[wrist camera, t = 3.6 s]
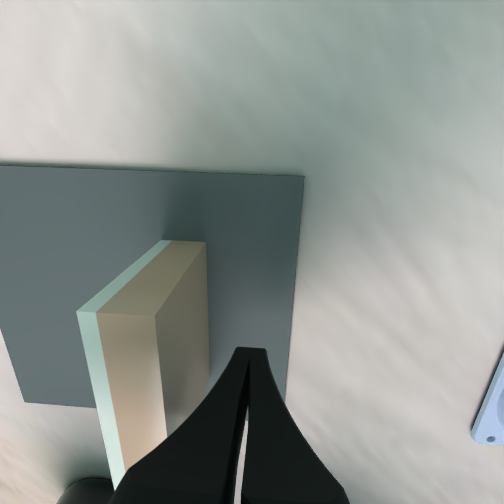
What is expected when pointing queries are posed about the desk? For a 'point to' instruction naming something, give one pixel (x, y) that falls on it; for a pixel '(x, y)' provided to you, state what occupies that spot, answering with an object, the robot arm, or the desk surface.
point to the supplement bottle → (88, 492)
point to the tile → (148, 349)
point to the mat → (130, 250)
